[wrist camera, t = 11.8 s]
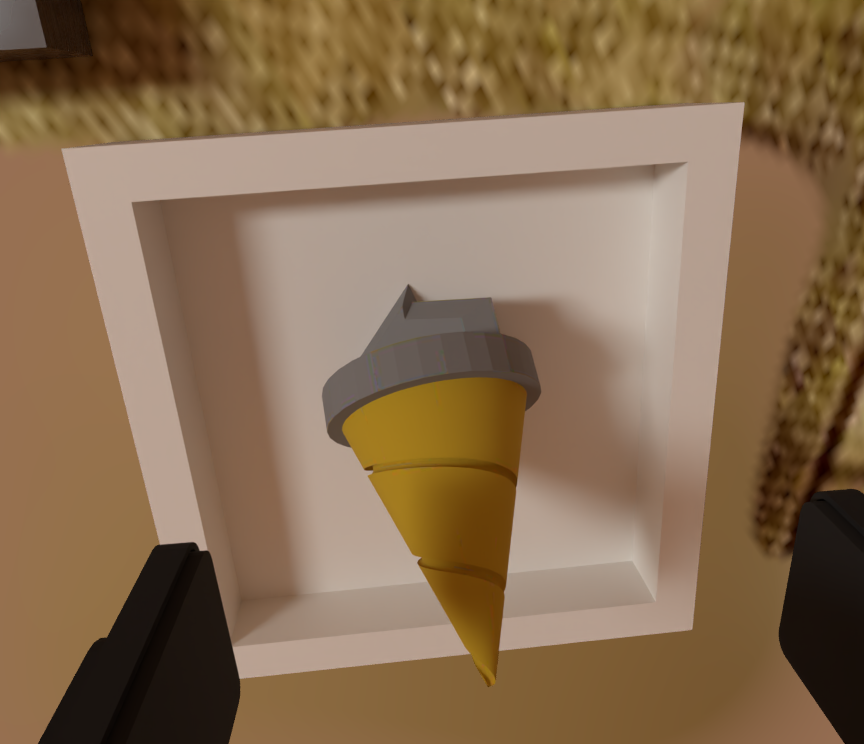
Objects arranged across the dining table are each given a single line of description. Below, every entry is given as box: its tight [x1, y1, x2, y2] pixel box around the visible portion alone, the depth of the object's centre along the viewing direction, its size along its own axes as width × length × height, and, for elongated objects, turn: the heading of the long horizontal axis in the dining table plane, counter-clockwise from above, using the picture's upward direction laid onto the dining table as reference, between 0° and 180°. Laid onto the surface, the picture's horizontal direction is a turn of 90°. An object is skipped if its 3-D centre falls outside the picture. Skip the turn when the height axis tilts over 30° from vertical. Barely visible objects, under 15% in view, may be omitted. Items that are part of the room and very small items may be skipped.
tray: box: [62, 102, 744, 679], centre depth 19 cm, size 15×15×3 cm
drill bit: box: [322, 284, 541, 687], centre depth 16 cm, size 5×5×10 cm
